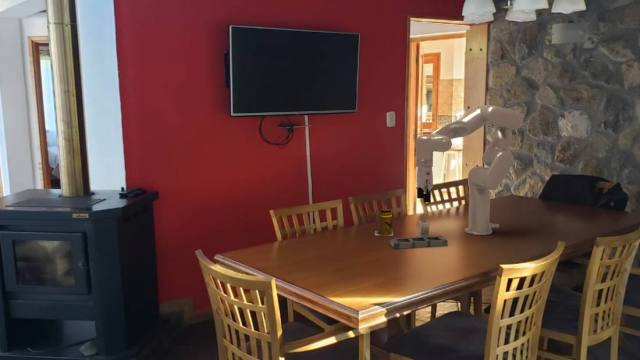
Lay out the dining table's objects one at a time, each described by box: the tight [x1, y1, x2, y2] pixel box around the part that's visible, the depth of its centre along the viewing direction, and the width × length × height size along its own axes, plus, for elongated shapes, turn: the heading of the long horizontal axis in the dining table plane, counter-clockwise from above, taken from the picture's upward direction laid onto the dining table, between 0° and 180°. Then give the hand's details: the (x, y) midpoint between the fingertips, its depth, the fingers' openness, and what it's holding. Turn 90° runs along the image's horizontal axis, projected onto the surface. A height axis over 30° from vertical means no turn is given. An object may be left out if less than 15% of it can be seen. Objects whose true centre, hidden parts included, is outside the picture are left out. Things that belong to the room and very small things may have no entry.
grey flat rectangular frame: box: [389, 235, 448, 250], centre depth 251 cm, size 24×8×2 cm, turn 98°
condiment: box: [374, 208, 394, 237], centre depth 270 cm, size 7×8×12 cm
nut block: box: [417, 219, 430, 237], centre depth 262 cm, size 4×4×8 cm
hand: (423, 200), depth 260 cm, fingers open, 9 cm apart
